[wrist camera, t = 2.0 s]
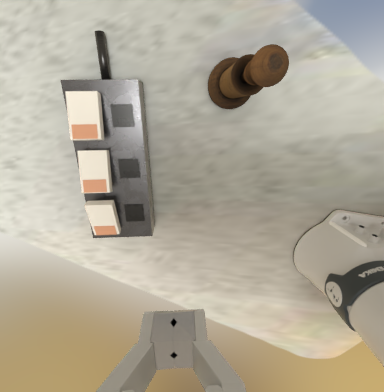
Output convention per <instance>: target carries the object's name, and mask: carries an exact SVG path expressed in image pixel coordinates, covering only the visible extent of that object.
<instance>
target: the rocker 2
mask: <svg viewBox="0 0 384 392" xmlns="http://www.w3.org/2000/svg"><path fill="white" fill-rule="evenodd" d="M84 206H85V209H86V212H87V215H88V218H89V221H90V224H91V226H92V229H93V232H94V235H117V234H120V231H121V227H120V223H119V219H118V215H117V211H116V207H115V203H114V200H97V201H87V202H86V203H85V205H84Z"/></svg>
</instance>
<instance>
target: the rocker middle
mask: <svg viewBox="0 0 384 392" xmlns="http://www.w3.org/2000/svg"><path fill="white" fill-rule="evenodd" d="M77 152H78V162H79V172H80V182H81V192H82V193H110V192H112V179H111V167H110V154H109V150H89V151H77Z"/></svg>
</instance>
